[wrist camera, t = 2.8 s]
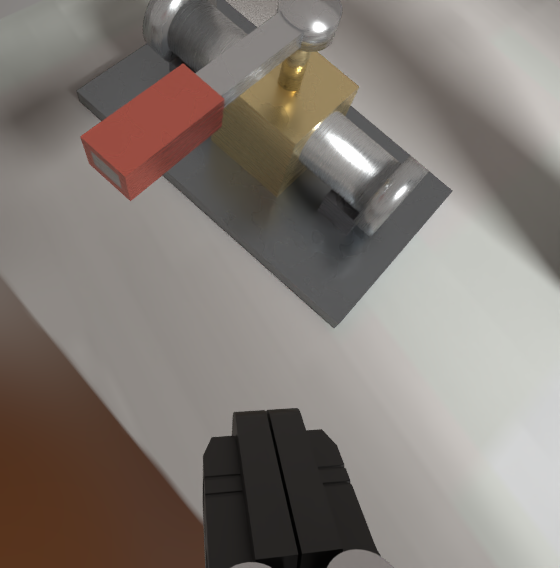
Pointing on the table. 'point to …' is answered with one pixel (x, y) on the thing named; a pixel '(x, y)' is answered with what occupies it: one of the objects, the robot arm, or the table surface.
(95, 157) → the valve lever
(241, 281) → the table surface
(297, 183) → the valve body
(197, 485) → the table surface
